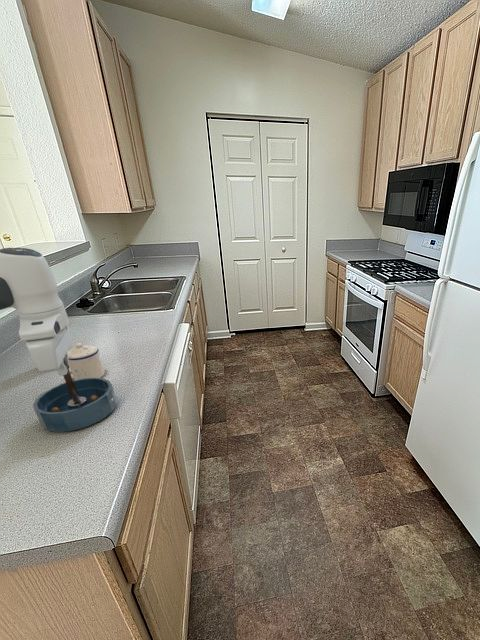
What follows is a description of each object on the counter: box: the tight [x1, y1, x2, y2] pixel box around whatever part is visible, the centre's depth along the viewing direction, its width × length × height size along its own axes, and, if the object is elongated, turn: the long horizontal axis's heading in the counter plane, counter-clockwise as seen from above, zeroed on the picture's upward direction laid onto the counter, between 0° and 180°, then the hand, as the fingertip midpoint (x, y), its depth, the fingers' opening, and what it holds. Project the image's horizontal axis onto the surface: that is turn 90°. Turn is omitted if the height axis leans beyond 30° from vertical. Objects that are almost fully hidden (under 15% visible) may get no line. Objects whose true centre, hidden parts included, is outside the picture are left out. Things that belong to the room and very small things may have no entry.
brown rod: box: [62, 358, 88, 410], centre depth 86 cm, size 4×4×18 cm
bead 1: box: [50, 407, 60, 412], centre depth 88 cm, size 2×2×2 cm
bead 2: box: [90, 395, 99, 402], centre depth 93 cm, size 2×2×2 cm
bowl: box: [33, 377, 118, 433], centre depth 89 cm, size 18×18×6 cm
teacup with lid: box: [67, 342, 106, 380], centre depth 105 cm, size 12×9×12 cm
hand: (65, 371), depth 84 cm, fingers closed on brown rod
